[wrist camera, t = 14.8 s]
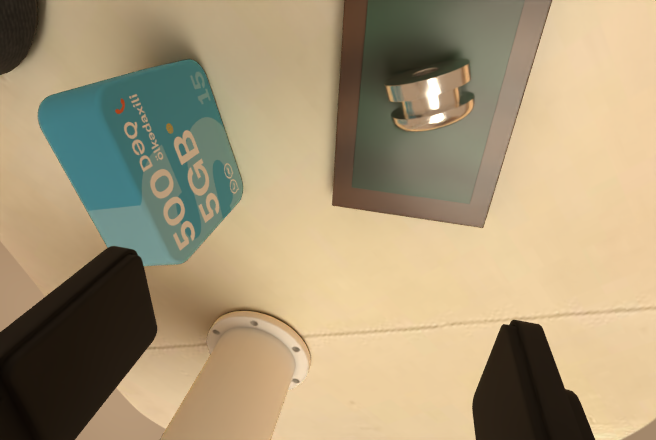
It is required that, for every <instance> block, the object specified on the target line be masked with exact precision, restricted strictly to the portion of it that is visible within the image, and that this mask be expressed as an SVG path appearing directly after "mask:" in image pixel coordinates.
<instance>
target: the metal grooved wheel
mask: <svg viewBox="0 0 656 440" xmlns="http://www.w3.org/2000/svg"><path fill="white" fill-rule="evenodd" d="M471 79H472V70H471V62H470V60H469V59H466V58H460V59H451V60H445V61H440V62H435V63H431V64H427V65H424V66H420V67H417V68H414V69H411V70H408V71H405V72H402V73H400V74H398V75H395V76H393V77H391V78H389V79H388V80H386V81H385V82H384V88H385V92H386V97H387V100H388V101H391V102H400V107H398V108H396V109H395V110H394V111H393V112H392V113H391V119H392V123H393V125H394V126H395V127H396V128H397V129H399V130H401V131H405V132H424V131H431V130H436V129H440V128H443V127H446V126H449V125H452V124H454V123H457V122H459V121H461V120H462V119H464V118H466V117H467V116H468V115H469V114H470V113H471V112H472V111H473V109H474V106H475V95H474V93H472V92H469V91H461V87H460V86H462V85H464V84H466V83H468V82H469V81H470V80H471Z"/></svg>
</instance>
